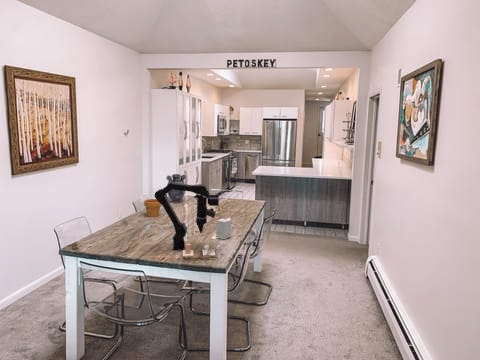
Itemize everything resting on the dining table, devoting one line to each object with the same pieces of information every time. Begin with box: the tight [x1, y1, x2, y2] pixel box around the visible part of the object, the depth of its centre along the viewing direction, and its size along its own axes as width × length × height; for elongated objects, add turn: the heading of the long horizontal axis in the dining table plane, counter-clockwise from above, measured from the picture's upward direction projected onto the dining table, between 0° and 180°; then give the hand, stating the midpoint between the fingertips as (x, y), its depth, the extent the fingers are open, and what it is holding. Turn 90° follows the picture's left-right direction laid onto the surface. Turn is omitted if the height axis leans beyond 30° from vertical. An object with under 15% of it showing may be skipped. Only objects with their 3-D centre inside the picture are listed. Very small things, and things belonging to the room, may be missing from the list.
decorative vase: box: [166, 173, 186, 204], centre depth 351 cm, size 21×19×28 cm
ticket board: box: [184, 249, 218, 261], centre depth 205 cm, size 18×12×2 cm, turn 99°
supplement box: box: [215, 218, 232, 239], centre depth 240 cm, size 7×7×13 cm
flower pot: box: [143, 198, 162, 218], centre depth 294 cm, size 14×14×13 cm
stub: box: [182, 243, 194, 258], centre depth 203 cm, size 6×9×6 cm, turn 9°
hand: (201, 230), depth 215 cm, fingers open, 9 cm apart
